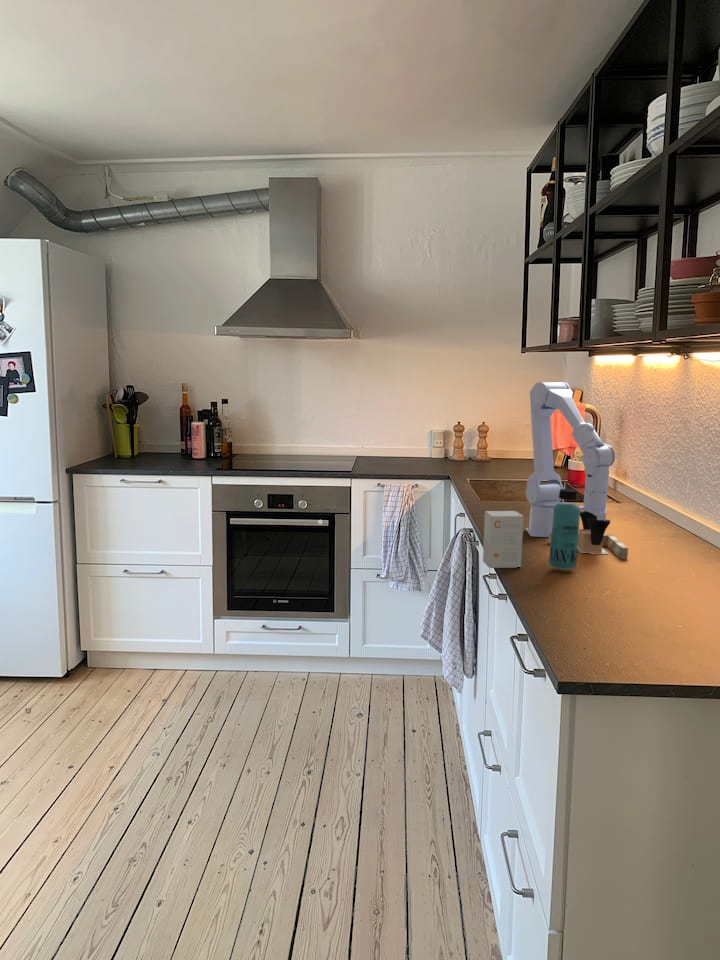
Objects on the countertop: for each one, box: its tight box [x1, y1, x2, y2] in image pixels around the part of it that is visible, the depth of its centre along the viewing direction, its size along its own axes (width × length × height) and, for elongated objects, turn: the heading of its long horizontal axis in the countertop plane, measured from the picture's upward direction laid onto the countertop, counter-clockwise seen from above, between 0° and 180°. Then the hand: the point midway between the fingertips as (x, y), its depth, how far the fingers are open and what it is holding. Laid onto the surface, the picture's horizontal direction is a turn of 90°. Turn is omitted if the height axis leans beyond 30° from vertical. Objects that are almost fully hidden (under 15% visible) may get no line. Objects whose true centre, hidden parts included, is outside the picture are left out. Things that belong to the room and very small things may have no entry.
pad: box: [577, 547, 609, 555], centre depth 192 cm, size 7×7×1 cm
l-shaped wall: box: [548, 532, 629, 560], centre depth 192 cm, size 15×17×3 cm
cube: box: [578, 528, 603, 553], centre depth 192 cm, size 5×5×5 cm
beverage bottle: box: [548, 488, 581, 570], centre depth 171 cm, size 6×7×20 cm
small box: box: [482, 510, 525, 569], centre depth 176 cm, size 8×6×13 cm
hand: (592, 541), depth 192 cm, fingers open, 7 cm apart
